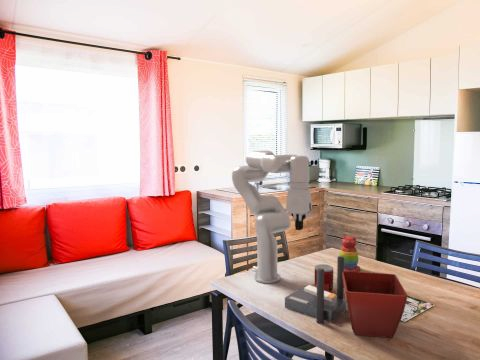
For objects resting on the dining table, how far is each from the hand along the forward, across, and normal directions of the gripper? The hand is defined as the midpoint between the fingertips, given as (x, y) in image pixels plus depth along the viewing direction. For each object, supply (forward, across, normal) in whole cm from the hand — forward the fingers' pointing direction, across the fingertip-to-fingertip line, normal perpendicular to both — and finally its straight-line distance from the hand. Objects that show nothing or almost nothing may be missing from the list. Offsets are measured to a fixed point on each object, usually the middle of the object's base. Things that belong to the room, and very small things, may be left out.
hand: (299, 229), depth 154 cm
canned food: (+29, +6, +11) cm, 32 cm away
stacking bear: (+29, +4, +42) cm, 51 cm away
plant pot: (+29, +33, -7) cm, 45 cm away
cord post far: (+29, +18, +2) cm, 34 cm away
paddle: (+22, +13, -6) cm, 26 cm away
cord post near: (+29, +18, -14) cm, 37 cm away
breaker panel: (+29, +11, -6) cm, 32 cm away
